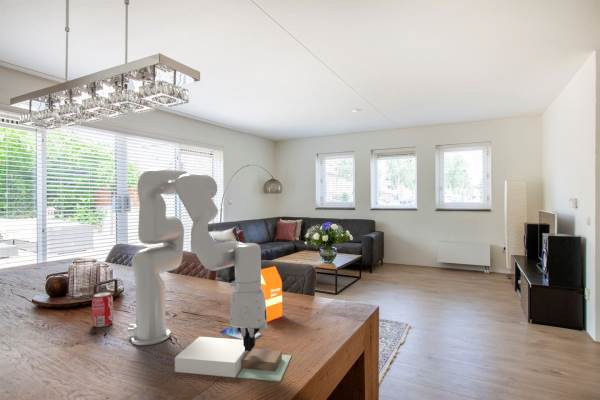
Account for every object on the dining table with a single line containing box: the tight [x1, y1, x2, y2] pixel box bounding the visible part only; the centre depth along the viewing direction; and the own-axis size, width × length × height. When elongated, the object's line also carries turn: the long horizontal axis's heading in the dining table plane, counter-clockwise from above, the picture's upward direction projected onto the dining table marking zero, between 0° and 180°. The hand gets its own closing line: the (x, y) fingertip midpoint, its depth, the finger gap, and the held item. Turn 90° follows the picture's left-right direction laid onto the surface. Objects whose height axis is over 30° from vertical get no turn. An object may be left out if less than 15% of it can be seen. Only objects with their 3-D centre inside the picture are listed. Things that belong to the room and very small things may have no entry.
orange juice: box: [261, 266, 283, 323], centre depth 132 cm, size 8×9×20 cm
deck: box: [174, 336, 247, 378], centre depth 96 cm, size 18×14×4 cm
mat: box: [236, 354, 292, 382], centre depth 93 cm, size 12×14×1 cm
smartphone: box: [218, 325, 263, 341], centre depth 116 cm, size 7×1×15 cm
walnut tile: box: [241, 347, 283, 371], centre depth 94 cm, size 10×7×2 cm
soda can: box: [91, 291, 114, 328], centre depth 126 cm, size 7×7×12 cm
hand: (249, 348), depth 94 cm, fingers closed
